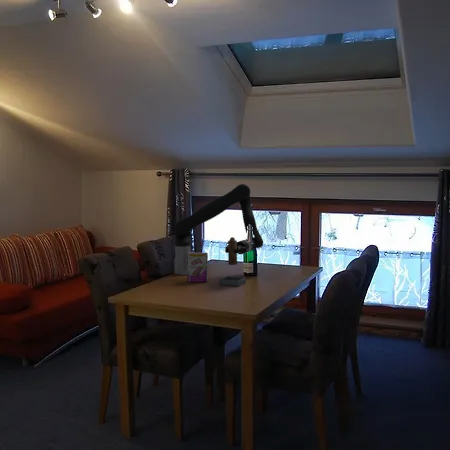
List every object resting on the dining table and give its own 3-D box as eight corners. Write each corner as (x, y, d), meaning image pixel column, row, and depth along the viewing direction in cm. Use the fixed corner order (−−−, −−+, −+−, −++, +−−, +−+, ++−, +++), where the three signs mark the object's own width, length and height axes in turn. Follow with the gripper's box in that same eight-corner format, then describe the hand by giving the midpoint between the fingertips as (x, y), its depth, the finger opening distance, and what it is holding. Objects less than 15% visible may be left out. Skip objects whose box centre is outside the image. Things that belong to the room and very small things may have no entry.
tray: (220, 284, 285) (219, 279, 284) (227, 281, 293) (227, 276, 293) (238, 286, 280) (238, 281, 279) (245, 282, 289) (245, 277, 288)
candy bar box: (187, 282, 292) (186, 253, 290) (188, 280, 297) (188, 252, 295) (207, 282, 291) (206, 253, 289) (208, 280, 296) (207, 252, 294)
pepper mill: (227, 264, 284) (226, 237, 283) (230, 263, 289) (230, 236, 287) (234, 265, 282) (234, 237, 281) (238, 263, 287) (238, 236, 285)
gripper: (231, 239, 300) (218, 243, 285) (254, 240, 294) (242, 245, 279) (232, 252, 301) (218, 257, 286) (254, 254, 295) (242, 259, 279)
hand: (230, 251), depth 282 cm, fingers closed on pepper mill, 4 cm apart
